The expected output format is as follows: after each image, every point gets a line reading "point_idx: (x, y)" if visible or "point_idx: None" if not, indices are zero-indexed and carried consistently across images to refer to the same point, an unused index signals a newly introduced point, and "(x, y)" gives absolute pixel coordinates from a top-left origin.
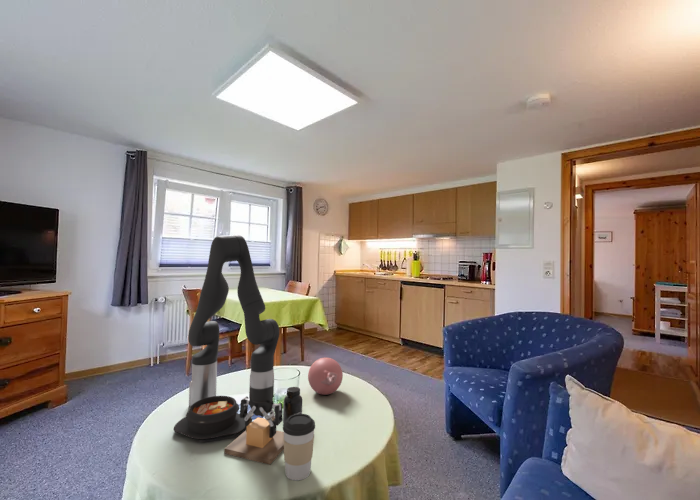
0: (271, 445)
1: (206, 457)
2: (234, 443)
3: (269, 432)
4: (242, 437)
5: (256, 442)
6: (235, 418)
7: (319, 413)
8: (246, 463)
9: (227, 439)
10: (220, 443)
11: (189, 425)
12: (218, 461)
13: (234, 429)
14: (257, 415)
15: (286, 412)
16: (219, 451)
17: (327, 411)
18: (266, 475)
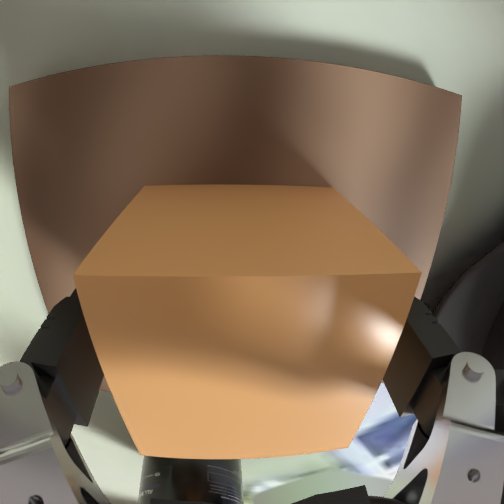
0: None
1: (496, 49)
2: (427, 171)
3: (81, 311)
4: None
5: (214, 195)
6: None
7: (135, 487)
8: (205, 18)
9: (475, 239)
10: (495, 192)
11: None
12: (421, 8)
13: (475, 303)
14: (306, 501)
15: (196, 498)
16: (471, 112)
17: (120, 492)
18: (12, 4)
